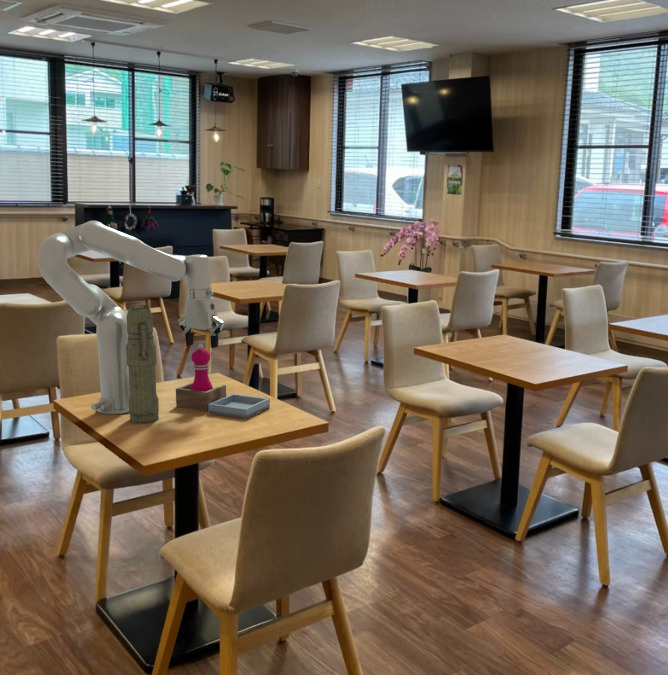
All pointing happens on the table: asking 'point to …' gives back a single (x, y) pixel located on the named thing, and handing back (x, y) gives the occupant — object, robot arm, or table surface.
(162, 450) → the table surface
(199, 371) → the pepper mill
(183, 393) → the walnut bay
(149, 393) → the olive piece
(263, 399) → the slate tray
